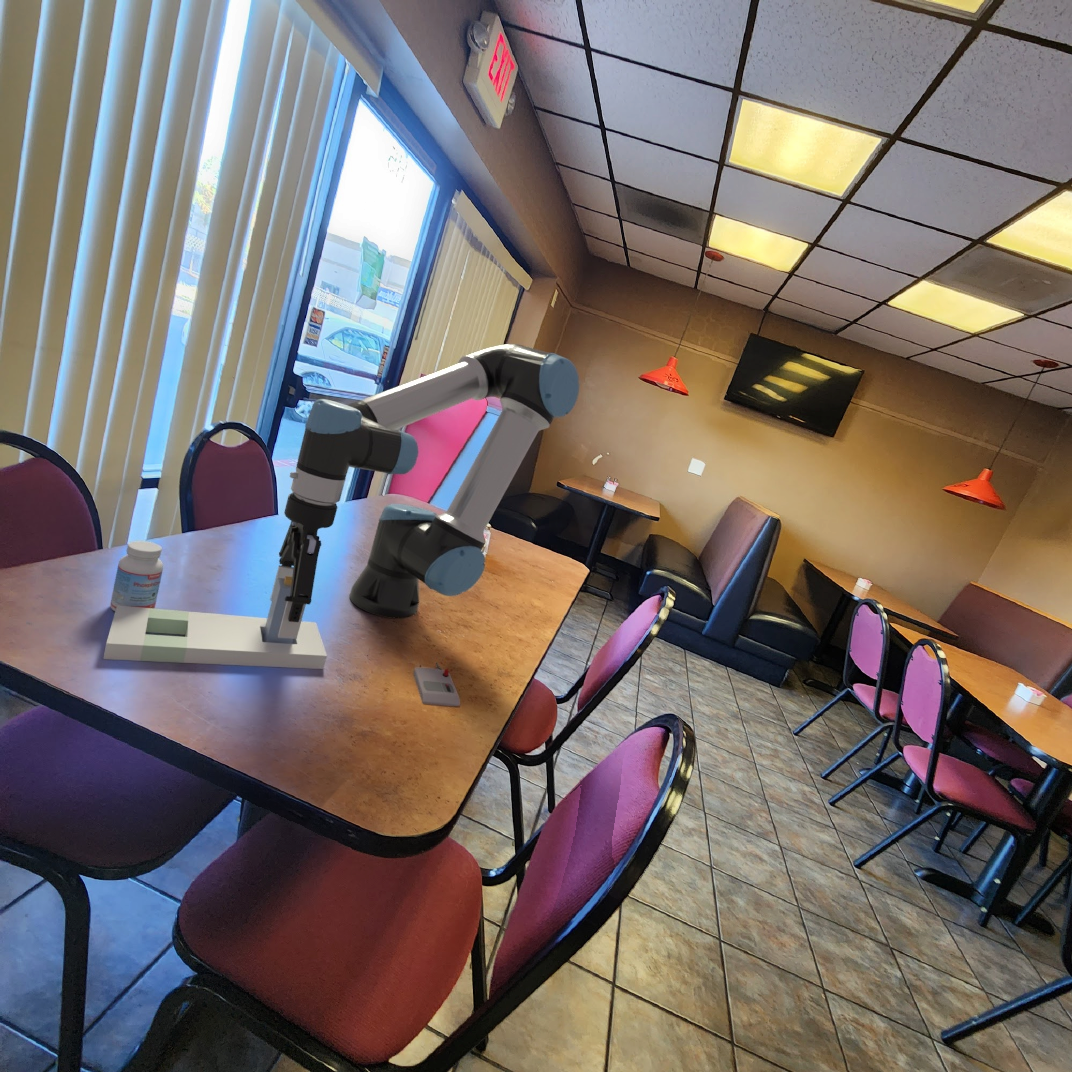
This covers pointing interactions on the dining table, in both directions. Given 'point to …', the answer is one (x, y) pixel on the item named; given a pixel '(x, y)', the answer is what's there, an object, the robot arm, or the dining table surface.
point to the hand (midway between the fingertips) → (282, 618)
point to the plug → (277, 612)
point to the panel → (208, 640)
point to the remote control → (436, 686)
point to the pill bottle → (138, 576)
